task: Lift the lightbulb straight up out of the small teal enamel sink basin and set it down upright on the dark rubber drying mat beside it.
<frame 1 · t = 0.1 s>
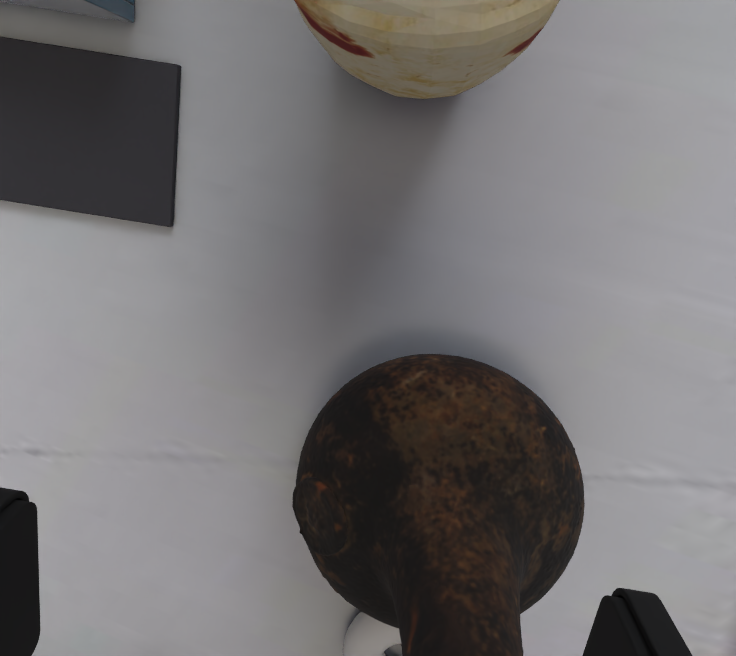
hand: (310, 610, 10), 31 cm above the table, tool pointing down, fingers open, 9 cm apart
dark brown vase: (431, 442, 43), on the table
donut: (404, 634, 49), on the table
drying mat: (25, 125, 38), on the table
food model: (412, 49, 36), on the table
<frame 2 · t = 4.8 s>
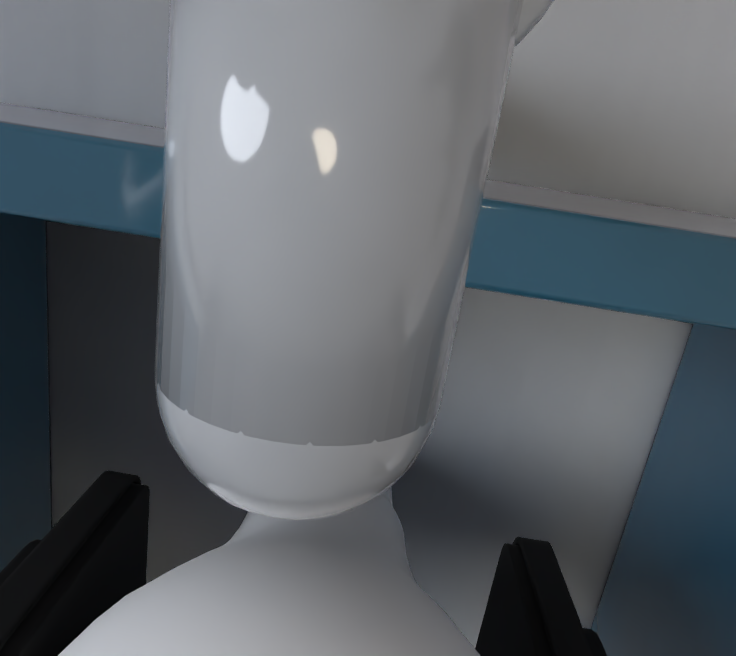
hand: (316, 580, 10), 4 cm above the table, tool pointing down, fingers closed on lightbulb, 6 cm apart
lightbulb: (339, 459, 14), resting in sink, touching gripper
sink: (338, 463, 14), on the table
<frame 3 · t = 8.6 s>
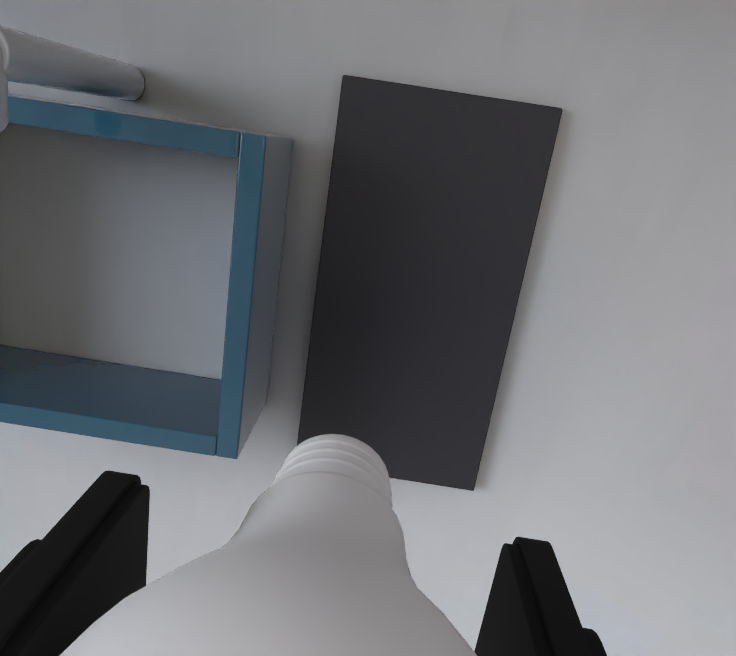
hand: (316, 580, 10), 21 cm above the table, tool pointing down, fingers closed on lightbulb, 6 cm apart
lightbulb: (339, 460, 14), point 16 cm above the table, touching gripper
sink: (124, 255, 30), on the table
drying mat: (414, 301, 30), on the table
when the fingers open (5 cm above the table, at t = 12.6 s): lightbulb stays where it is, resting on drying mat.
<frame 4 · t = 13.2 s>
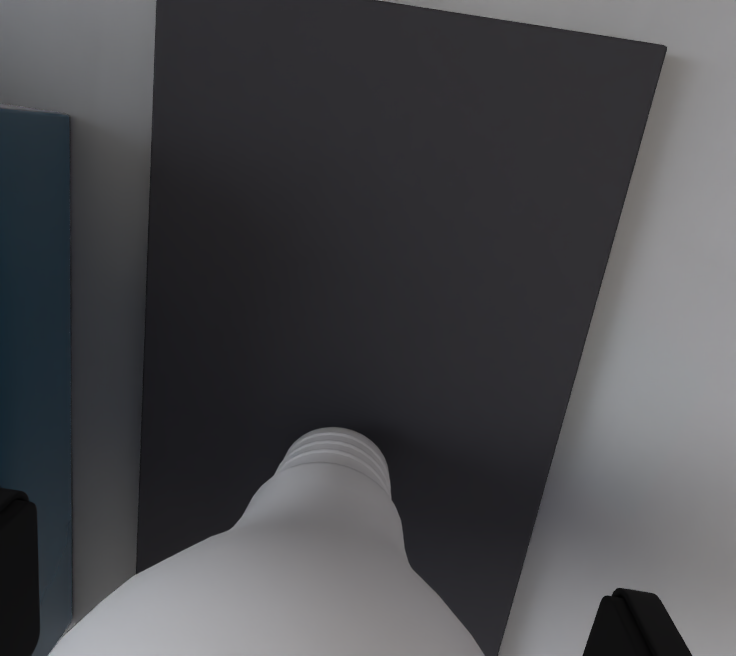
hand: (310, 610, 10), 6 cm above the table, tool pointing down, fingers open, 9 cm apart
lightbulb: (339, 453, 14), resting on drying mat
drying mat: (344, 447, 15), on the table
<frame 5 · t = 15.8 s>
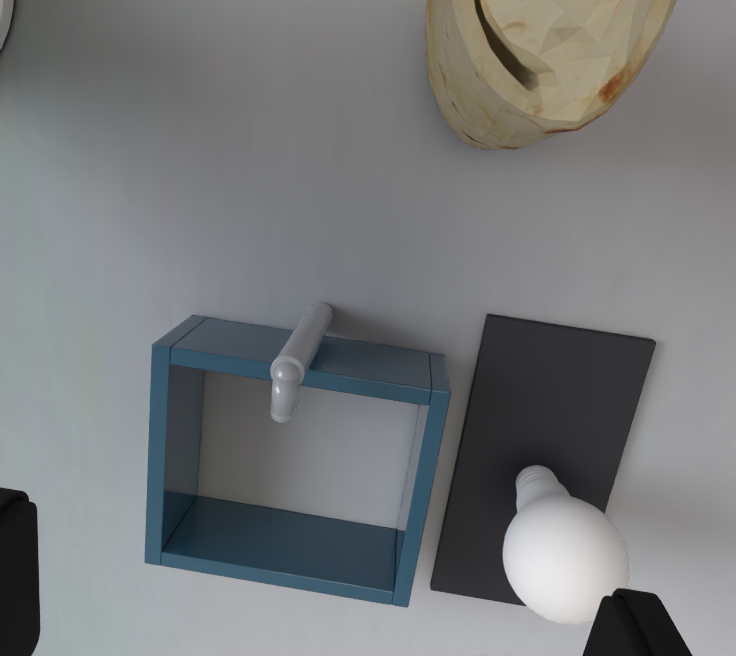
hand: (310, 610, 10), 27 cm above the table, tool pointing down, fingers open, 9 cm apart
lightbulb: (532, 474, 38), resting on drying mat
sink: (305, 434, 39), on the table
drying mat: (532, 471, 38), on the table
food model: (483, 55, 31), on the table
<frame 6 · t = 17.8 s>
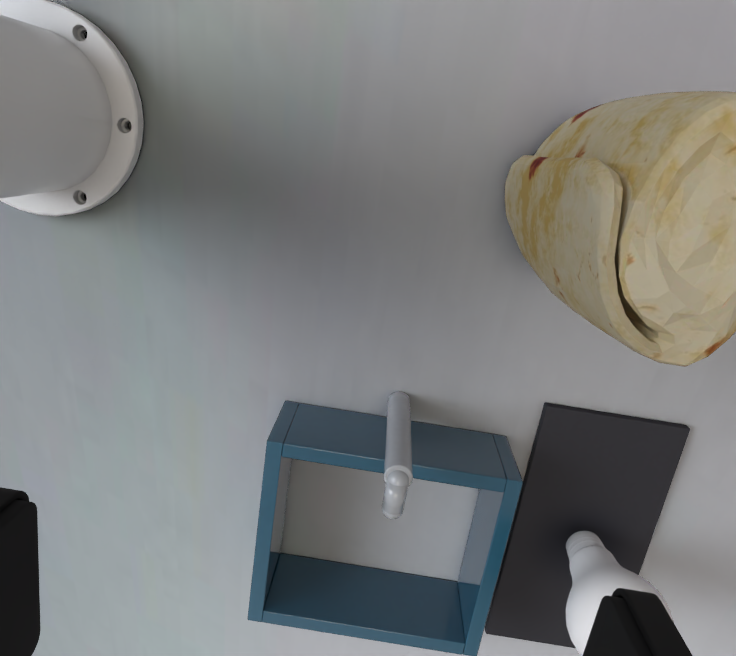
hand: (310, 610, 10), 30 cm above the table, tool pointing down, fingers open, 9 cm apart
lightbulb: (579, 536, 43), resting on drying mat
sink: (380, 501, 44), on the table
drying mat: (578, 533, 44), on the table
food model: (550, 192, 37), on the table
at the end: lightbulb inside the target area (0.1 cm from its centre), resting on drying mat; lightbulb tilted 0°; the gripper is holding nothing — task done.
